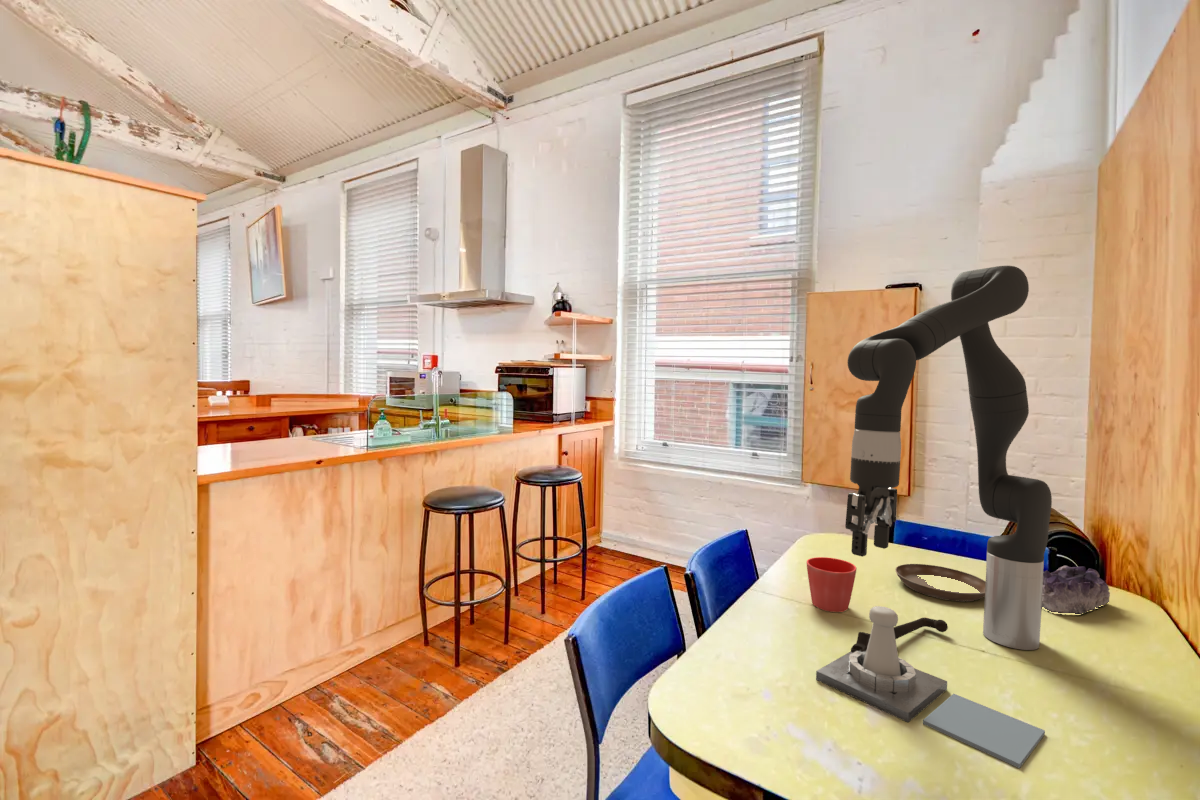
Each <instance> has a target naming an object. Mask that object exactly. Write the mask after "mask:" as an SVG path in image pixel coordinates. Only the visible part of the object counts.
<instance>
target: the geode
mask: <svg viewBox="0 0 1200 800" xmlns="http://www.w3.org/2000/svg"><path fill="white" fill-rule="evenodd" d="M1109 587H1110V586H1109V585H1108V584H1107V583H1106V581H1104V580H1103V579H1102V578H1100V573H1099V572H1098V571H1097V570H1096V569H1093V568H1088V569H1087V568H1086V566H1072V567H1071V566H1068V565H1063V566H1060V567H1058V569H1056V570H1054V571H1052V572H1050V571H1048V570H1047V569H1046V570H1044V571H1043V589H1042V607H1044V608H1045V609H1047V610H1049V611H1051V612H1058V613H1075V614H1082V613H1085V612H1087V611H1089V610H1093V609H1094V610H1096V609H1095V607H1096V608H1098V607H1099V606H1101V605H1105V604H1106V603H1108V602H1109V603H1110V597H1111V592H1110V588H1109ZM1109 603H1108V604H1109ZM1106 605H1107V604H1106ZM1106 605H1105V606H1106ZM1098 609H1099V608H1098ZM1085 614H1086V613H1085Z"/></svg>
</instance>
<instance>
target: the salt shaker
mask: <svg viewBox="0 0 1200 800" xmlns="http://www.w3.org/2000/svg"><path fill="white" fill-rule="evenodd" d="M868 618H869V621H870V622H872V626H871V631H870V634H871V635H870V639H869V643H868V646H867V650H866V654H865V658H864V662H863V666H862V667H864V668H865V669H867V670H869V671H872V672H874V673H876V674H881V675H886V676H901V672H900V665H899V659H898V657H899V652H898V647H897V639H895V633H894V627H896V626H898V621H899V618H898V614H897V612H896V611H895V610H894V609H892V608H889V607H886V606H880V605H878V606H876V605H875V606H873V607H871V608H870V610H869V615H868Z"/></svg>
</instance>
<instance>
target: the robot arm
mask: <svg viewBox="0 0 1200 800" xmlns="http://www.w3.org/2000/svg"><path fill="white" fill-rule="evenodd" d="M1029 286H1030V285H1029V281H1028V277H1027V275H1026V274H1025V271H1024V270H1022V269H1021V268H1019V267H1017V266H1014V265H998V266H992V267H986V268H985V267H984V268H980V269H973V270H967V271H963V272H961V273H959V274H957V276H955V277H954V280H953V281H952V284H951V290H950V301H948V302H947V301H946V302H944V303H942V304H939V305H936V306H935V305H934V306H933V307H931V308H928V309H926V310H924V311H922V312H919V313H917V314H916V315H914V316H912V317H910V318H908V319H907V320H905V321H904V322H902V323H901V324H900V325H897V326H896V327H893V328H890V329H886V330H883V331H881V332H878V333H876V334H873V335H871V336H869V337H866V338H864V339H862V340H860V341H859V342H857V344H855V345H854V346H853V348H852V349H851V350H850V352H849V353H848V357H847V368H848V371H849V372H850V373H851V375H852V376H853V377H855V378H856V379H858V380H861V381H866V382H877V384H876V385H877V386H876V388H875V390H874V392H873V393H870V394H866V395H861V396H859V398H857V400H856V403H855V412H854V413H855V414H854V415H855V416H854V430H853V436H852V440H851V441H852V442H851V453H850V454H851V457H850V474H849V480H850V482H851V483H852V484H855V485H858V489H857V490H858V491H857V493H853V492H849V493H848V494H847V501H846V502H847V503H846V514H845V515H846V516H845V529H846V530H850V532H852V536H851V537H852V538H851V553H852V554H853V555H854V556H859V557H866V556H867V553H868V551H867V550H868V535H869V530H870V528H871V524H875V525H874V530H873V531H874V532H873V533H874V534H873V545H874V547H876V548H880V549H883V550H885V549H887V548H888V547H889V541H890V540H889V539H890V528H891V527H892V525H893V523H896V521H897V511H898V509H897V507H898V489H897V487H898V486H899V485H900V476H901V475H900V472H901V458H902V457H901V454H902V439H901V429H902V428H901V427H902V409H903V406H904V402H905V399H906V397H907V395H908V390H909V388H910V386H911V383H912V380H913V377H914V374H915V371H916V367H917V361H919V360H922V359H924V358H926V357H928V356H930V355H932V353H934V352H935V351H937V350H939V349H940V348H942V347H943V346H945V345H946V344H948V343H950V342H951V341H953V340H954V339H956V338H958V337H959V339H960V344H961V348H962V352H963V359H964V362H965V368H966V369H965V370H966V377H967V384H968V385H967V386H968V394H969V397H968V398H969V403H970V410H971V414H972V415H971V416H972V420H973V427H974V433H975V443H976V451H977V454H976V455H977V476H978V477H977V479H978V485H977V487H978V497H979V503H980V506H981V509H982V510H983V512H984V513H985V514H986V515H987V516H989V517H992V518H994V519H997V520H1003V521H1007V522H1012V523H1017V524H1016V525H1017V526H1016V529H1015V532H1014V533H1012V534H1007V535H1005V534H1004V535H993V536H991V537H989V538H988V540H987V543H986V544H987V545H986V562H985V563H986V565H985V567H986V568H985V581H986V584H985V596H984V603H983V604H984V609H983V626H982V627H983V628H982V630H983V631H982V633H983V636H984V637H985V638H986V639H988V640H990V641H991V642H994V643H997V644H998V645H1001V646H1004V647H1007V648H1011V649H1015V650H1017V649H1018V650H1023V651H1024V650H1025V651H1033V650H1037V649H1039V648H1040V644H1041V643H1040V639H1041V626H1042V624H1041V623H1042V610H1043V609H1042V589H1043V572H1044V569H1045V568H1044V567H1045V566H1044V565H1045V564H1044V563H1045V553H1046V549H1047V545H1048V540H1049V530H1050V522H1051V513H1052V505H1053V504H1052V503H1053V501H1052V499H1053V498H1052V491H1051V489H1050V486H1049V485H1048V484H1047V483H1046V482H1045V481H1044V480H1041V479H1037V478H1032V477H1031V478H1030V477H1025V476H1019V475H1011V474H1009V473H1008V470H1007V453H1008V450H1009V448H1010V446H1011V444H1012V443H1013V441H1014V439H1016V437H1017V435H1018V434H1019V433H1020V432H1021V430H1022V428H1023V426H1024V425H1025V423H1026V421H1027V419H1028V417H1029V412H1030V411H1029V410H1030V409H1029V400H1028V399H1029V398H1028V392H1027V391H1028V390H1027V386H1026V385H1027V384H1026V380H1025V378H1024V376H1023V374H1022V373H1021V371H1020V370H1019V369H1018V367H1017V366H1016V365H1015V364H1014V362H1012V360H1011V359H1010V357H1008V356H1007V354H1005V353H1004V352H1003V350H1002V349H1001V348H1000V347H999V346H998V344H997V342H996V341H995V339H994V337H993V335H992V331H991V329H990V325H989V323H990V322H991V321H994V320H996V319H1000V318H1002V317H1005V316H1008V315H1011V314H1014V313H1015V312H1017V311H1019V310H1020V309H1021V308H1022V307H1023V306H1024V305H1025V303H1026V301H1027V299H1028V296H1029V292H1030V287H1029Z"/></svg>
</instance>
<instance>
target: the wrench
mask: <svg viewBox="0 0 1200 800" xmlns="http://www.w3.org/2000/svg"><path fill="white" fill-rule="evenodd" d="M925 627H927V628H930V629H931V628H932V629H936V631H938V632H940V633H944V632H946V631H947V630H948V629H949V626H948V623H947V622H946V621H945V620H944V619H934V618H928V617H921V618H918V619H915V620H912V621H909V622H905V623H902V624H899V625H896V626H894V633H895V639H896V640H898V639H899V638H902V637H904V636H905V635H908V634H910V633H912V632H914V631H916V630H919V629H921V628H925ZM870 635H871V633H869V632H864V631H859V632H858V634H857V639H856V643H854V644H853V645H852V646H851V648H850V651H851V652H852V653H854V652H855V651H859V652H864V651H866V650H867V646H868V643H869V639H870Z"/></svg>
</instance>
